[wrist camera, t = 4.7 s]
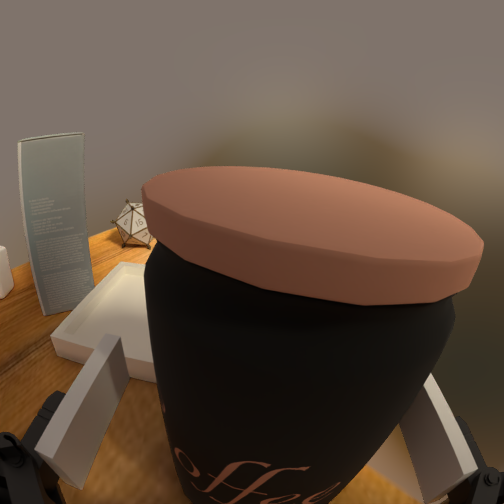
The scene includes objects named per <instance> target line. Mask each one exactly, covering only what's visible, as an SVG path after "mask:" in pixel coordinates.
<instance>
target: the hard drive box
mask: <svg viewBox="0 0 504 504" xmlns="http://www.w3.org/2000/svg"><path fill="white" fill-rule="evenodd" d="M84 139H85V134H84V133H64V134H55V135H47V136H39V137H33V138H27V139H23V140H20V141H18V169H19V188H20V200H21V210H22V218H23V225H24V233H25V239H26V245H27V250H28V255H29V261H30V266H31V271H32V275H33V280H34V284H35V288H36V292H37V295H38V299H39V302H40V306H41V309H42V313H43V315H44V316H48V315H52V314H56V313H60V312H65V311H69V310H74V309H75V308H76V307H77V305H78V304H79V303H80V302H81V301H82V300H83V299H84V298H85V297H86V296H87V295H88V294H89V293H90V292H91V291H92V290H93V289H94V288H95V286H94V280H93V273H92V266H91V259H90V251H89V242H88V233H87V221H86V208H85V188H84Z"/></svg>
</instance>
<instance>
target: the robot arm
mask: <svg viewBox="0 0 504 504" xmlns="http://www.w3.org/2000/svg"><path fill="white" fill-rule="evenodd" d="M129 380H130V377H129V373H128V369H127V364H126V360H125V355H124V351H123V346H122V341H121V336H116V335H112V334H107V333H105V335H104V336H103V338H102V339H101V341H100V342H99V344H98V345H97V347H96V348H95V350H94V351H93V353H92V354H91V356H90V357H89V359H88V360H87V362H86V363H85V365H84V366H83V368H82V369H81V371H80V373H79V374H78V376H77V377H76V379H75V380H74V382H73V384H72V385H71V387H70V388H69V390H68V392H67V393H66V394H65V393H62V392H60V391H55V392H54V393H53V394H51V395H50V396H49V397H48V398H47V399H46V401H45V402H44V404H43V405H42V409H40V410H39V412H38V413H37V416H36V417H35V418H34V420H33V422H32V423H31V425H30V427H29V428H28V430H27V432H26V433H25V435H24V437H23V439H22V440H21V442H20V441H19V440H18V439H17V437H16V436H15V435H14V434H11V433H9V432H2V433H0V504H66V502H65V499H64V497H63V494H62V492H61V489H60V486H59V484H58V483H57V482H58V480H59V478H61V479H62V480H63V481H64V482H65V483H66V484H68V485H71V486H73V487H75V488H78V489H80V490H82V489H83V486H84V484H85V481H86V479H87V476H88V474H89V471H90V469H91V466H92V464H93V461H94V459H95V456H96V454H97V452H98V449H99V447H100V445H101V442H102V440H103V438H104V435H105V433H106V431H107V428H108V426H109V424H110V421H111V419H112V417H113V415H114V413H115V410H116V408H117V406H118V404H119V401H120V399H121V397H122V395H123V393H124V391H125V388H126V386H127V384H128V382H129ZM399 425H400V428H401V431H402V434H403V437H404V439H405V442H406V445H407V448H408V451H409V454H410V457H411V460H412V463H413V467H414V469H415V473H416V476H417V479H418V482H419V486H420V489H421V493H422V496H423V500H424V503H425V504H428V503H432V502H434V501H437V500H440V499H441V498H442V497H444V496H445V495H446V494H447V495H448V498H447V499H446V500H445V501H443V502H442V503H441V504H503V503H504V472H499V471H498V470H497V469H495V468H493V467H487V466H486V464H485V462H484V459H483V457H482V455H481V453H480V450H479V448H478V446H477V444H476V442H475V441H474V438H473V436H472V434H470V433H471V432H470V430H469V428H468V426H467V424H466V423H465V421H464V420H463V419H462V418H460V416H458V417H454V416H453V414H452V412H451V410H450V408H449V406H448V404H447V402H446V400H445V398H444V396H443V394H442V392H441V391H440V389H439V387H438V385H437V383H436V381H435V380H434V378H433V376H432V374H431V373H430V375H429V377H428V378H427V380H426V382H425V383H424V385H423V387H422V388H421V390H420V391H419V393H418V395H417V396H416V398H415V399H414V401H413V402H412V404H411V405H410V407H409V408H408V410H407V411H406V413H405V414H404V416H403V417H402V419H401V420H400V421H399Z"/></svg>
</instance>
